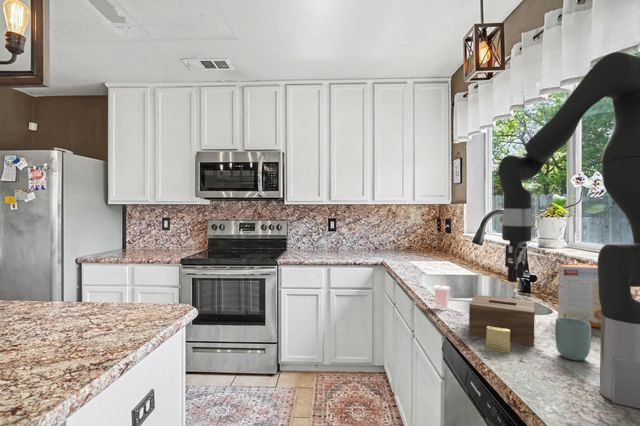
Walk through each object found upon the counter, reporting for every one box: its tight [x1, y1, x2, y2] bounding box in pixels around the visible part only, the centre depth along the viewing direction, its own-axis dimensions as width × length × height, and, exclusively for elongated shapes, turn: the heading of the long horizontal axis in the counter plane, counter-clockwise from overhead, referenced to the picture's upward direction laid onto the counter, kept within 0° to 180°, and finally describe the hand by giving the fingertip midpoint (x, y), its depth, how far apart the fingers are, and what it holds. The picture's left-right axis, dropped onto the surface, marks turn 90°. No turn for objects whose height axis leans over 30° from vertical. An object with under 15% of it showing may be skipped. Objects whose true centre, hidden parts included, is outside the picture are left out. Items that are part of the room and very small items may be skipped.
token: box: [485, 326, 511, 354], centre depth 106 cm, size 2×6×6 cm, turn 60°
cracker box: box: [557, 264, 601, 329], centre depth 129 cm, size 14×6×21 cm, turn 76°
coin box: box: [468, 294, 536, 347], centre depth 120 cm, size 15×18×10 cm
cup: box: [554, 317, 592, 362], centre depth 100 cm, size 8×8×10 cm
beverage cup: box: [433, 273, 451, 310], centre depth 148 cm, size 6×6×14 cm
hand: (515, 279), depth 108 cm, fingers open, 8 cm apart
